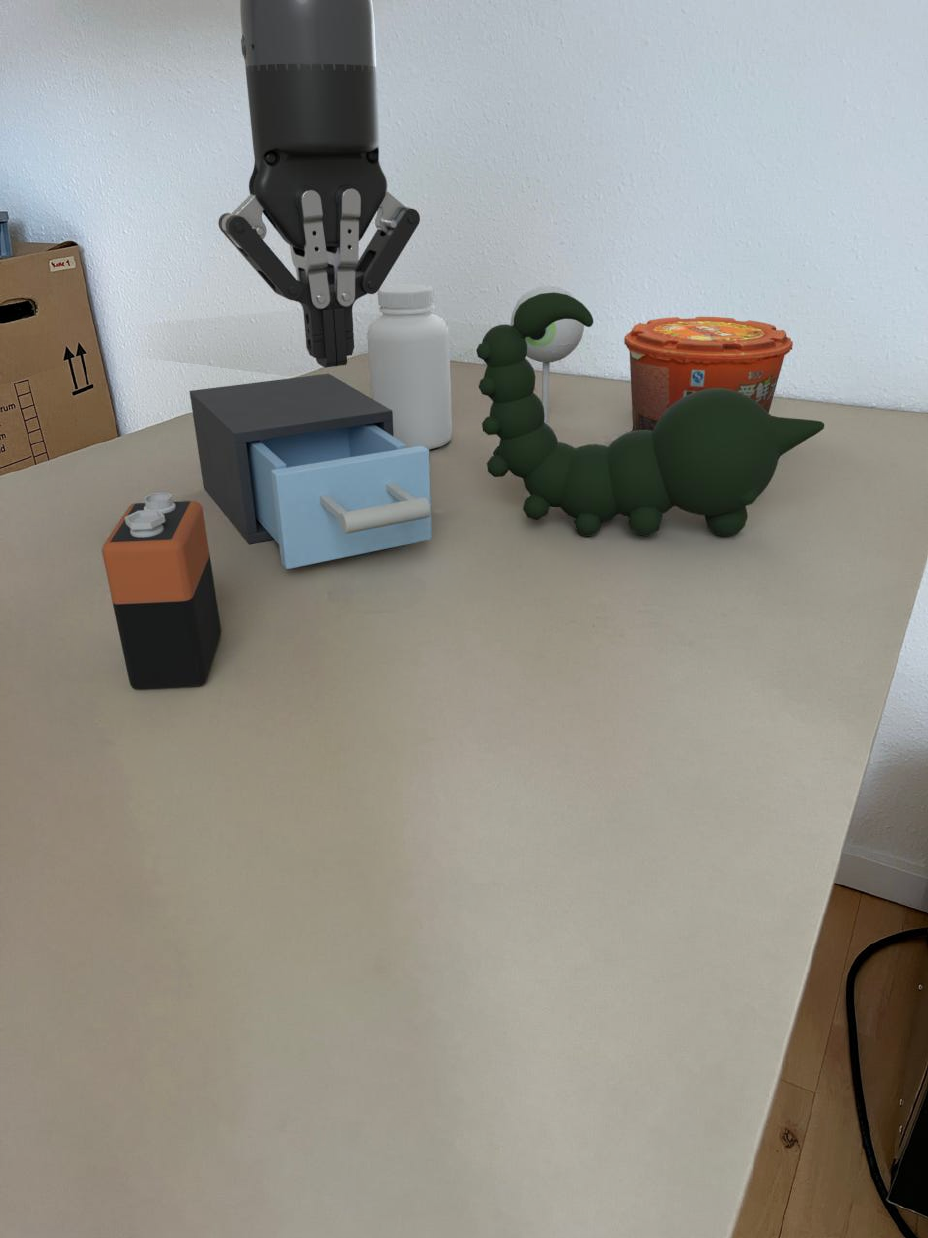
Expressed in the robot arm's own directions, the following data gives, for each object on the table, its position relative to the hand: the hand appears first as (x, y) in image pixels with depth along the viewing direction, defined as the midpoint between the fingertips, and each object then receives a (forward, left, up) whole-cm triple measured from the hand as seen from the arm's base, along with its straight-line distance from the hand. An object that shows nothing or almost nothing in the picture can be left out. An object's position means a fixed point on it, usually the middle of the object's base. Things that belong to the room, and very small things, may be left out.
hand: (331, 363), depth 62 cm
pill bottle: (+17, +26, -15) cm, 34 cm away
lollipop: (+29, +20, -15) cm, 38 cm away
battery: (-14, -9, -15) cm, 22 cm away
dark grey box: (+1, +15, -15) cm, 21 cm away
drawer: (+1, +3, -14) cm, 14 cm away
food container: (+43, +13, -15) cm, 47 cm away
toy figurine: (+23, -4, -15) cm, 28 cm away
